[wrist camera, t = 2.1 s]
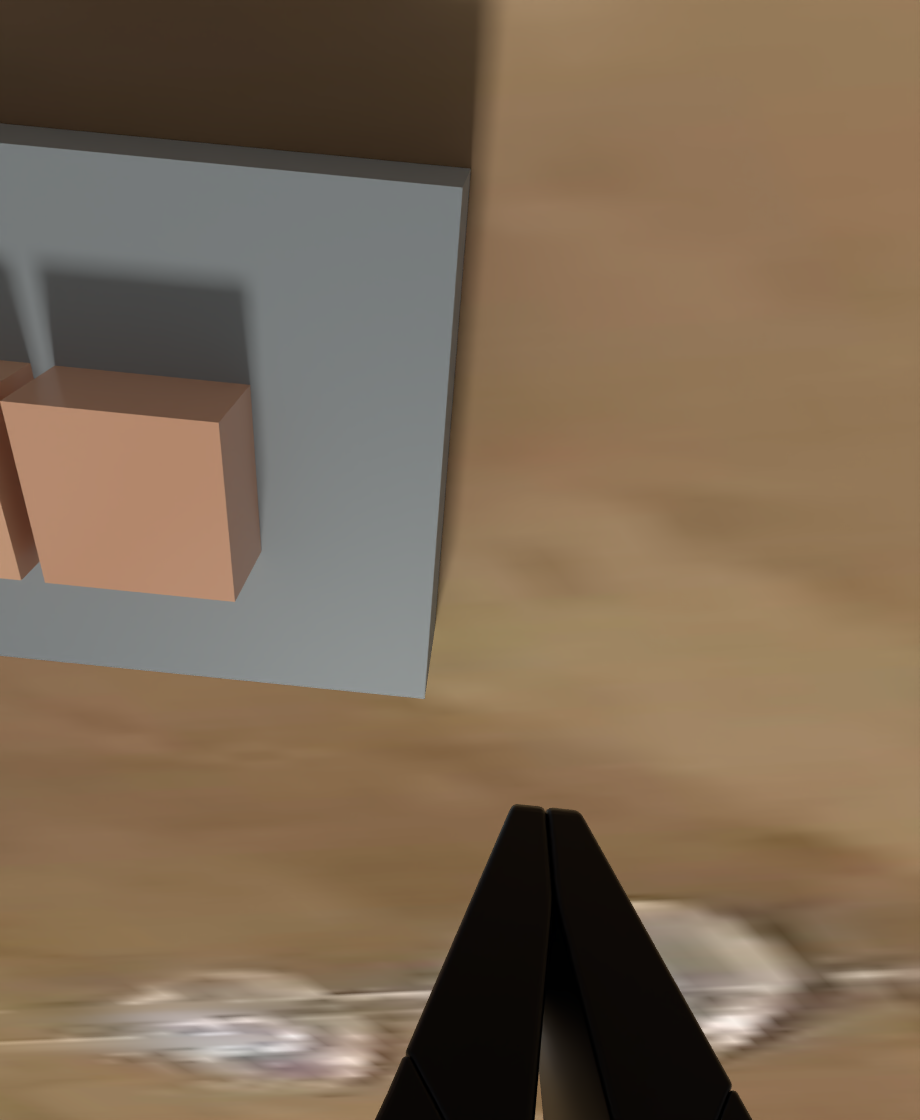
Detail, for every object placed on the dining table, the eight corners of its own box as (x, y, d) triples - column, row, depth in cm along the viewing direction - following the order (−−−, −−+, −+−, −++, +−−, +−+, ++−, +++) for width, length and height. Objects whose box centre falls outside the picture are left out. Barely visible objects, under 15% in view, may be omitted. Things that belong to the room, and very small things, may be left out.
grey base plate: (434, 628, 23) (424, 698, 20) (-44, 579, 23) (-114, 643, 20) (471, 168, 16) (462, 188, 14) (-197, 104, 16) (-327, 111, 14)
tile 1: (261, 551, 18) (235, 601, 16) (89, 534, 18) (45, 582, 16) (250, 384, 16) (218, 422, 14) (54, 365, 16) (0, 400, 14)
